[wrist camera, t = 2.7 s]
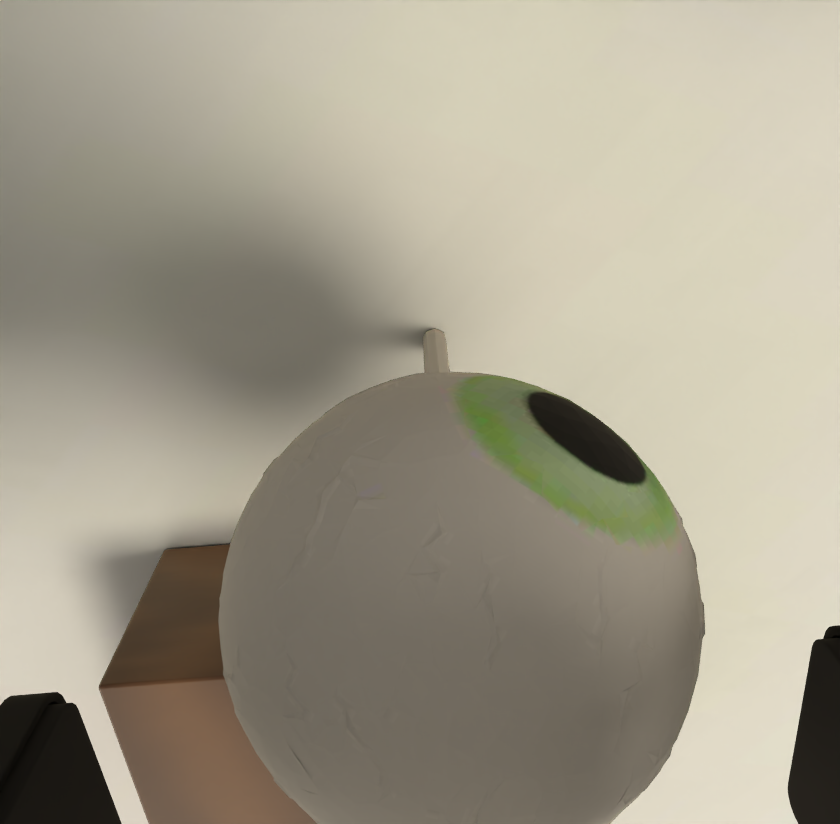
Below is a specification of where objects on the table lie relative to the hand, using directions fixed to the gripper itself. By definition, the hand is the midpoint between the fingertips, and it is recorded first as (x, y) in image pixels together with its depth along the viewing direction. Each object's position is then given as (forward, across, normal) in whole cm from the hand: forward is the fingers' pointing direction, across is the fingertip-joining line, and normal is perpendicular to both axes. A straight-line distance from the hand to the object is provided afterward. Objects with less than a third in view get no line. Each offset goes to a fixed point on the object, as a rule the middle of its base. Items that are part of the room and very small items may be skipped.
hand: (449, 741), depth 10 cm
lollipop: (+14, 0, 0) cm, 14 cm away
